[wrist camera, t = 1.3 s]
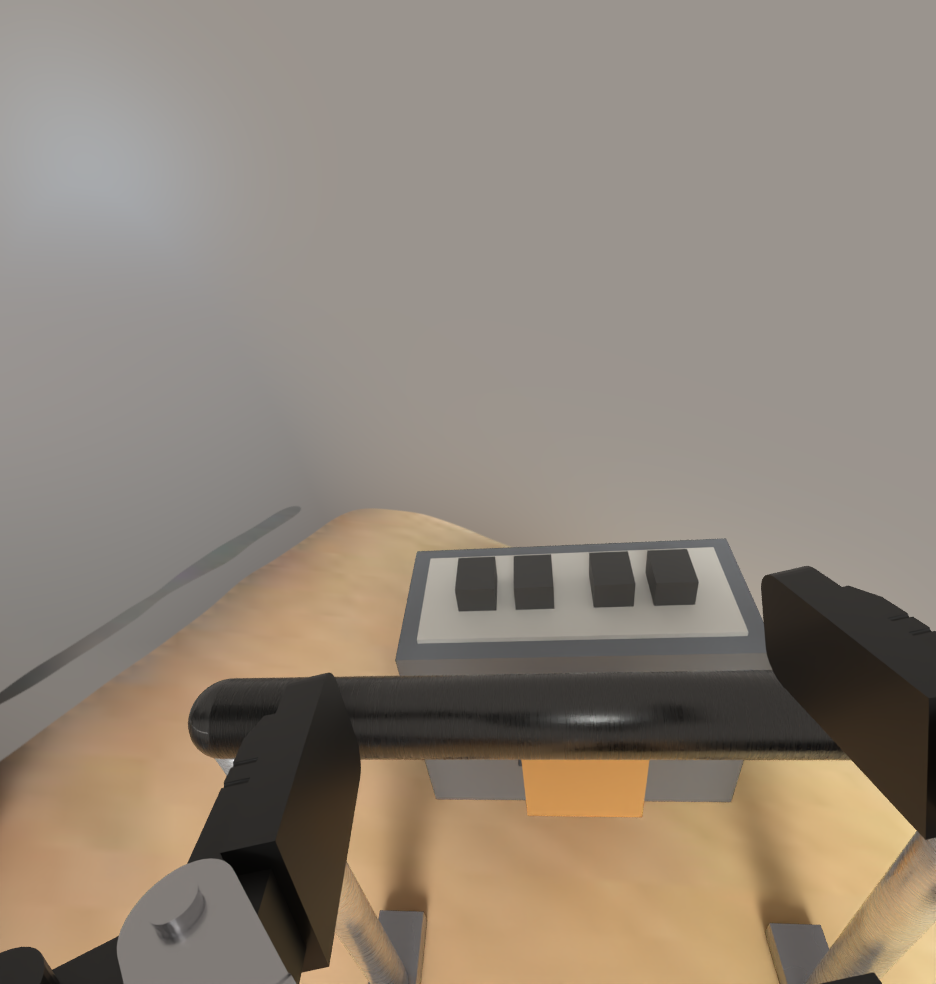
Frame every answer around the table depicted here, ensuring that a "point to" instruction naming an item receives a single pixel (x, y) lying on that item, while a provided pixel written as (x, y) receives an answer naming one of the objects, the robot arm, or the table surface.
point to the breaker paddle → (585, 787)
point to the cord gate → (585, 736)
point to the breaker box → (581, 635)
